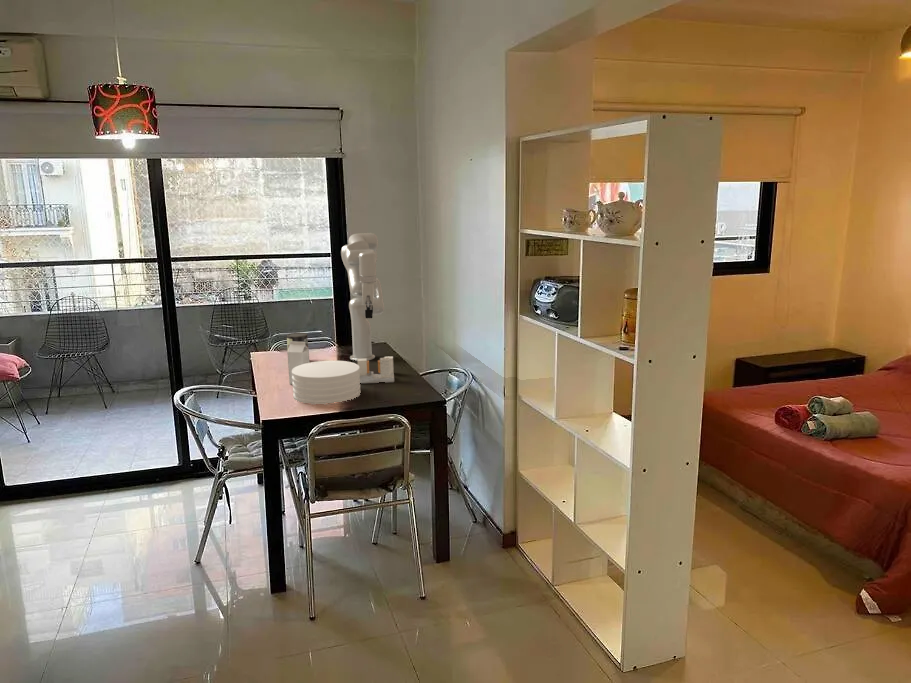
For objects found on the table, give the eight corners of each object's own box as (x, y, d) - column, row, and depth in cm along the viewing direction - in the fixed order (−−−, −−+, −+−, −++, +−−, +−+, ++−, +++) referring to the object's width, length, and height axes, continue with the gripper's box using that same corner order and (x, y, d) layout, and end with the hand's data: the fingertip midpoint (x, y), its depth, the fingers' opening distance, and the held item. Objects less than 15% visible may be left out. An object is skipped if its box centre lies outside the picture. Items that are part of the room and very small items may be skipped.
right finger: (358, 375, 309) (357, 358, 308) (369, 375, 310) (368, 358, 308) (358, 378, 305) (357, 360, 304) (369, 377, 306) (368, 360, 304)
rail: (341, 379, 311) (339, 358, 308) (393, 377, 313) (393, 356, 311) (340, 384, 303) (339, 362, 301) (394, 382, 306) (393, 360, 304)
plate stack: (348, 382, 307) (347, 357, 304) (370, 398, 283) (369, 371, 280) (286, 391, 294) (284, 365, 292) (303, 408, 270) (301, 380, 268)
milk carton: (304, 385, 302) (301, 343, 298) (289, 384, 304) (286, 343, 300) (310, 381, 309) (308, 340, 305) (296, 380, 310) (293, 339, 306)
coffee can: (312, 360, 348) (311, 333, 345) (302, 365, 338) (300, 337, 335) (295, 358, 351) (293, 332, 348) (284, 363, 342) (282, 336, 338)
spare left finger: (382, 373, 321) (382, 356, 319) (393, 372, 322) (392, 356, 320) (382, 375, 317) (382, 358, 315) (393, 375, 318) (393, 358, 316)
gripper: (360, 276, 320) (361, 311, 324) (358, 282, 303) (360, 320, 308) (376, 276, 320) (377, 311, 325) (375, 282, 304) (377, 319, 308)
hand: (369, 315), depth 316 cm, fingers open, 9 cm apart
